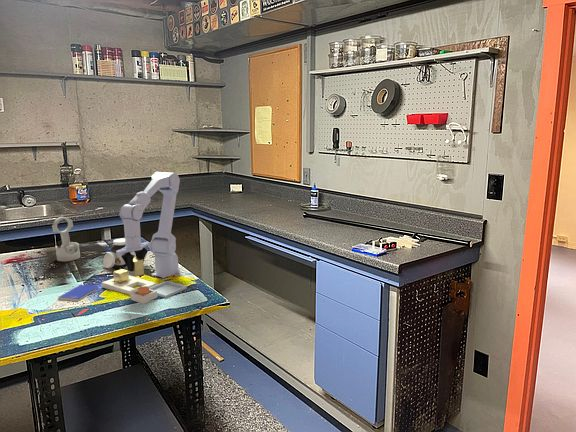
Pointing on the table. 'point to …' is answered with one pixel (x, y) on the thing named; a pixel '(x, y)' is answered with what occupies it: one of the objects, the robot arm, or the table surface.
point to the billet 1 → (121, 276)
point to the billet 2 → (137, 267)
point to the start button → (143, 290)
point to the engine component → (66, 243)
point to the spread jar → (111, 257)
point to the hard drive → (78, 292)
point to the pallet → (127, 285)
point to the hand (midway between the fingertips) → (135, 269)
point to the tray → (168, 289)
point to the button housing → (144, 298)
